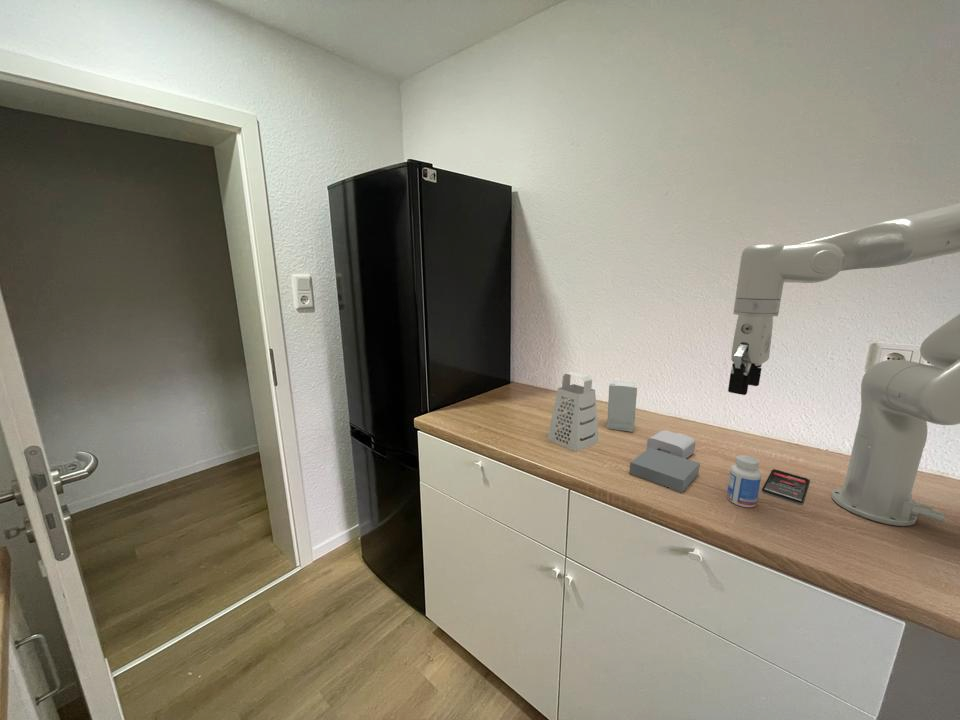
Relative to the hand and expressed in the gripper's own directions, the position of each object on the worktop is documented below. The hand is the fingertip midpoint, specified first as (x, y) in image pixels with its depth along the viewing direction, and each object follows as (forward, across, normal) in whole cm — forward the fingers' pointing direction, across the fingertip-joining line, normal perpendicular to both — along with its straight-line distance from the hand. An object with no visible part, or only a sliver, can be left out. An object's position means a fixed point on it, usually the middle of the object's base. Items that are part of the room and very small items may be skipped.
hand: (743, 388), depth 81 cm
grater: (+24, -3, +39) cm, 46 cm away
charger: (+24, +13, +17) cm, 32 cm away
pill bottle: (+24, -2, -3) cm, 24 cm away
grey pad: (+24, -3, +13) cm, 27 cm away
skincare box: (+24, +17, +35) cm, 46 cm away
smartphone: (+25, +13, -8) cm, 29 cm away
